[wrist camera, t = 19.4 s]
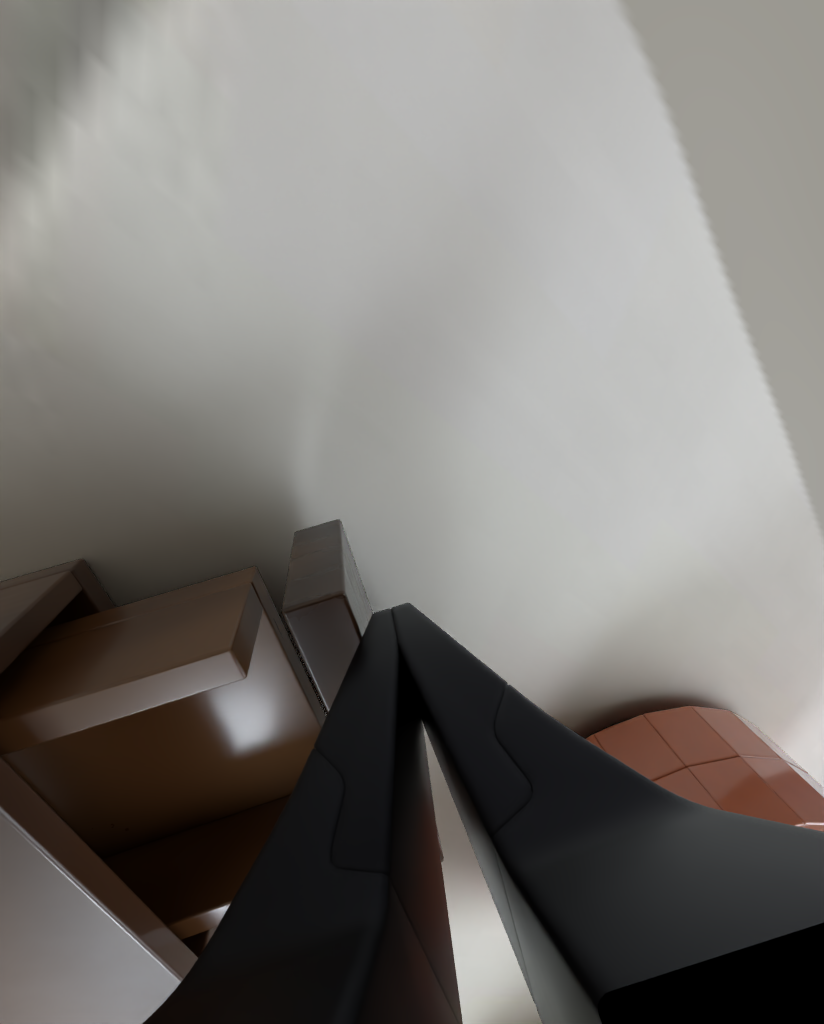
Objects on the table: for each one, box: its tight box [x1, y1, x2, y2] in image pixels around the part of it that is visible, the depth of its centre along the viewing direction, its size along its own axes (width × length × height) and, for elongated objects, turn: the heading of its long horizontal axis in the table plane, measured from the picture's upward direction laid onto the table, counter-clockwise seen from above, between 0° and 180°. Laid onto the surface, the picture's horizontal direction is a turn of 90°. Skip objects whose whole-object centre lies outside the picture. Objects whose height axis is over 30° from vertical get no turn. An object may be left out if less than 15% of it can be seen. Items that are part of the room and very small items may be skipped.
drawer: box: [0, 520, 444, 940], centre depth 11 cm, size 12×9×3 cm
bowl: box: [586, 706, 824, 832], centre depth 17 cm, size 13×13×5 cm
